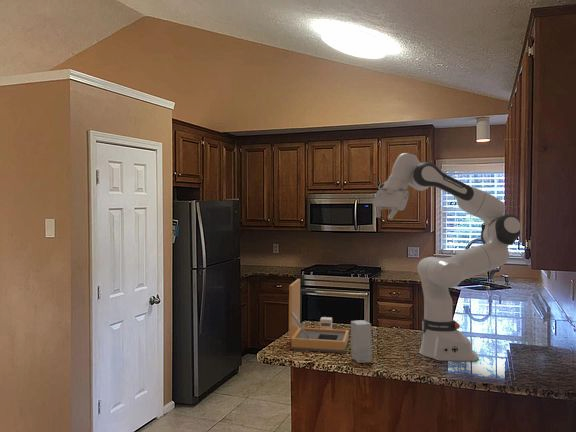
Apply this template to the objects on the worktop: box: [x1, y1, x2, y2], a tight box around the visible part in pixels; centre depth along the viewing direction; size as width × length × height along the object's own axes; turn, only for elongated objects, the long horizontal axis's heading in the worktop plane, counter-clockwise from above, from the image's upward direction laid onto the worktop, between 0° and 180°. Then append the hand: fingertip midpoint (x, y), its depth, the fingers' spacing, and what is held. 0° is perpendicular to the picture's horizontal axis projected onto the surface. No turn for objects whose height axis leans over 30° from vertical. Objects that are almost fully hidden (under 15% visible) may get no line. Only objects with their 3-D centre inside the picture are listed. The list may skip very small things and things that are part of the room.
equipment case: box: [288, 278, 350, 354], centre depth 222 cm, size 23×20×26 cm
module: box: [319, 316, 333, 329], centre depth 239 cm, size 5×5×8 cm
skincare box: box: [350, 319, 373, 364], centre depth 201 cm, size 8×6×15 cm
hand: (383, 217), depth 220 cm, fingers open, 8 cm apart
